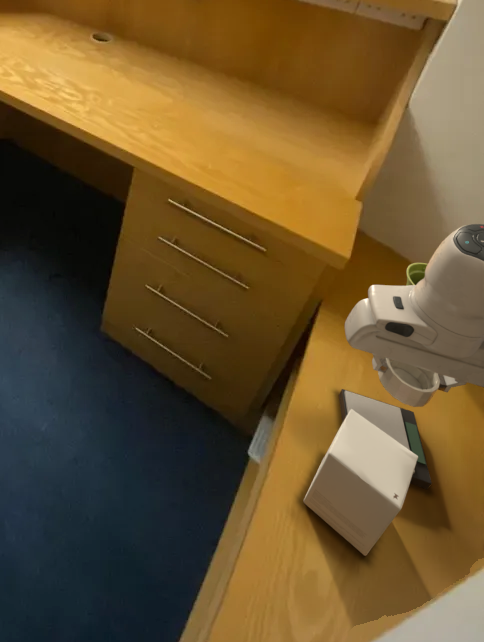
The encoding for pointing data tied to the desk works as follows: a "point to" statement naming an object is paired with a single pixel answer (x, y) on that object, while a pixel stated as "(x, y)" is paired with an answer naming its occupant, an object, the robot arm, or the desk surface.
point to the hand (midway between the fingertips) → (407, 376)
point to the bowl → (409, 383)
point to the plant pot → (415, 273)
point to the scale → (390, 428)
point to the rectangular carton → (361, 482)
